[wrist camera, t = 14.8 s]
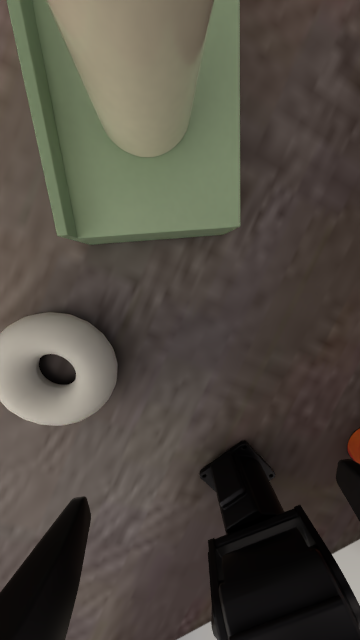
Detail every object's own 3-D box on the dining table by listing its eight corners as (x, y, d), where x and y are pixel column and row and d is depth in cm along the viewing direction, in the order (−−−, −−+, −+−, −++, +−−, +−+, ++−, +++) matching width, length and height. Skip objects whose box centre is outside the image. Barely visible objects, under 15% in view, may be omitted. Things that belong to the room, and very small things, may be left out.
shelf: (223, 234, 18) (249, 222, 12) (89, 244, 17) (56, 236, 12) (217, -33, 14) (253, -224, 8) (39, -33, 13) (-47, -241, 8)
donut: (141, 345, 20) (37, 284, 17) (138, 362, 16) (8, 290, 14) (88, 423, 21) (-14, 377, 19) (75, 452, 18) (-50, 401, 16)
